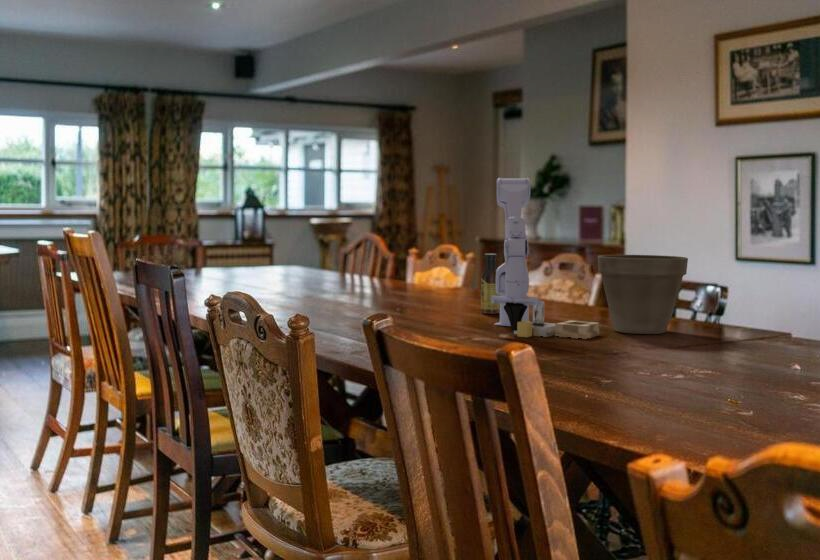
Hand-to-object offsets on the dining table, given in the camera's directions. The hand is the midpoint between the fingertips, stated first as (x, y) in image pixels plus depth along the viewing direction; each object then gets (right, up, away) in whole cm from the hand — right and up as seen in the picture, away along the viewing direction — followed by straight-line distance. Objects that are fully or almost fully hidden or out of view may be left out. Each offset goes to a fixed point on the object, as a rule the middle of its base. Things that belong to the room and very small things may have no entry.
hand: (515, 330), depth 264 cm
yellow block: (+2, -2, -2) cm, 3 cm away
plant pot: (+37, -1, +9) cm, 38 cm away
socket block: (+7, -1, +4) cm, 8 cm away
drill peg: (+7, -1, +4) cm, 8 cm away
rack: (+17, -2, -1) cm, 17 cm away
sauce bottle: (-3, +3, +52) cm, 52 cm away
